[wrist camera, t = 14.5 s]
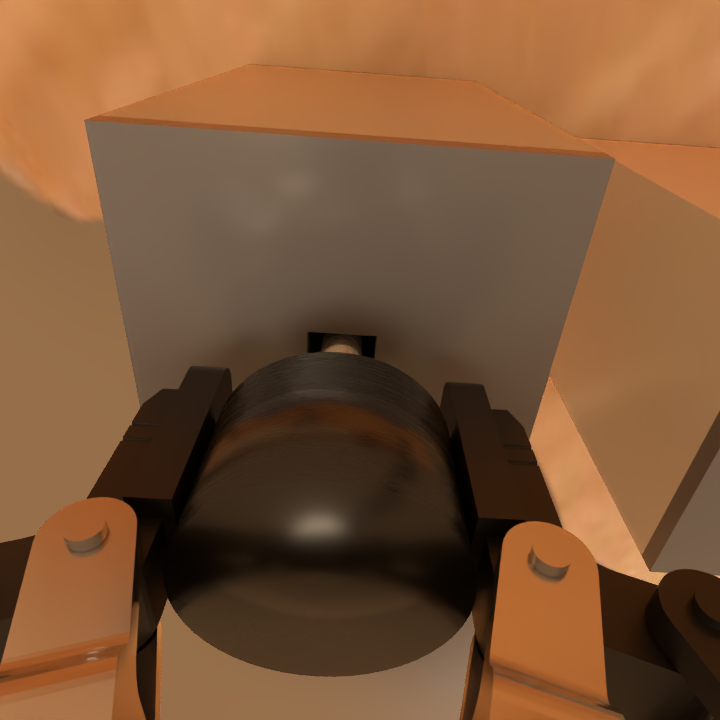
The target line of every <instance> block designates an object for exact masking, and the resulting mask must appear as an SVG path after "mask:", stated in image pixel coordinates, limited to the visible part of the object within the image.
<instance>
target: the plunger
mask: <svg viewBox="0 0 720 720" xmlns="http://www.w3.org/2000/svg"><path fill="white" fill-rule="evenodd" d="M163 580H164V587H165V590H166V593H167V597H168V599H169V601H170V603H171V605H172V607H173V609H174V610H175V612H176V613H177V614H178V616H179V617H180V618H181V619H182V621H183V622H184V623H185V624H186V625H187V626H188V627H189V628H190V629H191V630H192V631H193V632H194V633H195V634H197V635H198V636H199V637H200V638H202V639H203V640H204V641H206V642H207V643H209V644H211V645H212V646H214V647H216V648H217V649H218V650H220V651H222V652H225V653H226V654H229V655H231V656H232V657H235V658H237V659H240V660H242V661H245V662H247V663H250V664H254V665H257V666H260V667H263V668H267V669H271V670H276V671H280V672H286V673H292V674H298V675H309V676H331V677H336V676H353V675H361V674H369V673H374V672H379V671H384V670H388V669H391V668H395V667H398V666H402V665H404V664H407V663H410V662H412V661H415V660H417V659H419V658H421V657H423V656H425V655H427V654H429V653H431V652H433V651H434V650H436V649H437V648H439V647H440V646H442V645H443V644H444V643H446V642H447V641H448V640H449V639H450V638H452V637H453V636H454V635H455V634H456V633H457V632H458V631H459V629H460V628H461V627H462V626H463V625H464V623H465V622H466V620H467V618H468V617H469V615H470V613H471V611H472V608H473V606H474V604H475V599H476V594H477V577H476V572H475V566H474V561H473V556H472V551H471V546H470V540H469V535H468V530H467V525H466V519H465V514H464V509H463V504H462V499H461V493H460V488H459V483H458V478H457V473H456V467H455V462H454V457H453V452H452V446H451V441H450V436H449V431H448V427H447V423H446V420H445V418H444V416H443V413H442V411H441V409H440V408H439V406H438V405H437V403H436V401H435V400H434V399H433V397H432V396H431V395H430V394H429V393H428V392H427V390H426V389H425V388H424V387H422V386H421V385H420V384H419V383H418V382H417V381H416V380H414V379H413V378H412V377H410V376H409V375H407V374H406V373H404V372H403V371H401V370H399V369H397V368H395V367H393V366H391V365H389V364H387V363H384V362H381V361H379V360H376V359H373V358H369V357H365V356H362V335H351V334H336V333H324V335H323V342H322V349H321V352H315V353H305V354H300V355H296V356H291V357H287V358H284V359H281V360H279V361H276V362H273V363H271V364H269V365H267V366H265V367H263V368H261V369H259V370H257V371H256V372H254V373H253V374H252V375H250V376H249V377H247V378H246V379H245V380H244V381H243V382H242V383H241V384H239V385H238V386H237V387H236V388H235V390H234V391H233V392H232V394H231V395H230V396H229V397H228V399H227V401H226V403H225V404H224V406H223V408H222V410H221V413H220V415H219V418H218V420H217V423H216V426H215V428H214V431H213V433H212V436H211V439H210V441H209V444H208V447H207V449H206V452H205V454H204V457H203V460H202V462H201V465H200V467H199V470H198V473H197V475H196V478H195V480H194V483H193V486H192V488H191V491H190V493H189V496H188V499H187V501H186V504H185V506H184V509H183V512H182V514H181V517H180V519H179V522H178V525H177V527H176V530H175V532H174V535H173V538H172V540H171V543H170V545H169V548H168V551H167V554H166V557H165V560H164V567H163Z"/></svg>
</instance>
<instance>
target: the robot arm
mask: <svg viewBox="0 0 720 720" xmlns="http://www.w3.org/2000/svg"><path fill="white" fill-rule="evenodd" d="M232 392H233V391H232V378H231V372H230V369H229V368H222V367H206V366H191V367H190V368H189V369H188V371H187V373H186V375H185V377H184V379H183V381H182V383H181V385H180V387H179V389H161V390H160V391H159V392H157V393H156V394H155V395H154V396H152V397H151V398H150V399H148V400H147V401H146V402H144V403H143V404H142V406H141V408H140V409H139V411H138V413H137V415H136V416H135V418H134V420H133V421H132V426H129V428H128V430H127V431H126V433H125V435H124V436H123V441H120V443H119V445H118V447H117V448H116V450H115V452H114V453H113V455H112V457H111V458H110V460H109V462H108V463H107V465H106V467H105V468H104V470H103V472H102V474H101V475H100V477H99V478H98V480H97V482H96V484H95V485H94V487H93V489H92V490H91V492H90V494H89V496H88V497H87V499H85V500H81V501H78V502H75V503H73V504H71V505H68V506H66V507H64V508H63V509H61V510H59V511H58V512H56V513H55V514H54V515H52V516H51V517H50V518H49V519H48V520H46V521H45V523H44V524H43V525H42V526H41V527H40V528H39V530H38V532H37V533H36V535H34V536H31V537H27V538H23V539H18V540H13V541H8V542H3V543H0V720H160V706H161V705H160V704H161V646H162V627H161V621H160V618H161V616H162V613H163V610H164V607H165V604H166V601H167V598H168V597H167V593H166V590H165V587H164V580H163V567H164V560H165V557H166V554H167V551H168V548H169V545H170V543H171V540H172V538H173V535H174V532H175V530H176V527H177V525H178V522H179V519H180V517H181V514H182V512H183V509H184V506H185V504H186V501H187V499H188V496H189V493H190V491H191V488H192V486H193V483H194V480H195V478H196V475H197V473H198V470H199V467H200V465H201V462H202V460H203V457H204V454H205V452H206V449H207V447H208V444H209V441H210V439H211V436H212V433H213V431H214V428H215V426H216V423H217V420H218V418H219V415H220V413H221V410H222V408H223V406H224V404H225V403H226V401H227V399H228V397H229V396H230V395H231V394H232ZM440 409H441V411H442V413H443V416H444V418H445V420H446V423H447V427H448V431H449V436H450V441H451V446H452V452H453V457H454V462H455V467H456V473H457V478H458V483H459V488H460V493H461V499H462V504H463V509H464V514H465V519H466V525H467V530H468V535H469V540H470V546H471V551H472V556H473V561H474V566H475V572H476V577H477V594H476V599H475V604H474V606H473V608H472V615H473V621H474V627H475V632H474V635H473V638H472V642H471V646H470V652H469V659H468V666H467V672H466V679H465V686H464V692H463V699H462V706H461V712H460V719H459V720H720V578H718V577H716V576H713V575H711V574H709V573H706V572H702V571H699V570H693V569H678V570H674V571H671V572H669V573H668V574H666V575H665V576H664V577H663V578H662V580H661V581H660V583H659V585H655V584H652V583H649V582H646V581H643V580H640V579H637V578H634V577H630V576H627V575H624V574H621V573H618V572H615V571H613V570H610V569H608V568H605V567H603V566H601V565H599V564H598V563H596V561H595V558H594V557H593V555H592V553H591V552H590V550H589V549H588V548H587V547H586V545H585V544H584V543H583V542H582V541H581V540H580V539H578V538H577V537H576V536H574V535H573V534H572V533H570V532H568V531H567V530H565V529H563V528H562V525H561V523H560V520H559V517H558V515H557V512H556V510H555V507H554V504H553V502H552V499H551V497H550V494H549V491H548V489H547V486H546V483H545V481H544V478H543V476H542V473H541V470H540V468H539V466H537V460H536V457H535V455H534V452H533V450H531V444H530V442H529V439H528V437H527V434H526V431H525V429H524V427H523V426H522V425H521V424H520V423H519V422H518V420H517V419H516V418H515V417H514V416H513V415H512V414H511V413H510V412H509V411H508V410H499V409H491V407H490V403H489V400H488V397H487V394H486V391H485V388H484V386H483V385H482V384H472V383H456V382H446V383H445V385H444V389H443V393H442V399H441V404H440Z"/></svg>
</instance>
